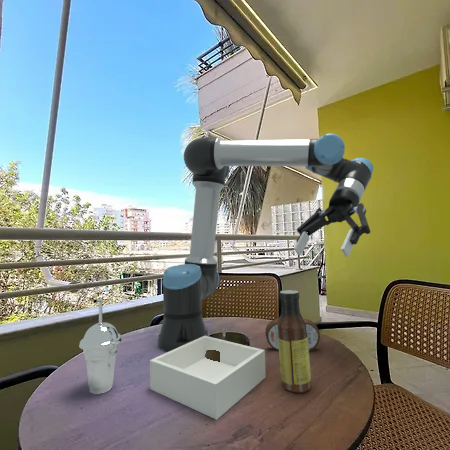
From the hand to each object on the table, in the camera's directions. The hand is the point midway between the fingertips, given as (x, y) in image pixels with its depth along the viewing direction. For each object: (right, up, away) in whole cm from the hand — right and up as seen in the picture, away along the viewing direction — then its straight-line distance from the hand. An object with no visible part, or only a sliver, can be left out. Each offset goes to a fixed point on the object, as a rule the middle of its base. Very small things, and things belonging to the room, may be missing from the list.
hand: (319, 252), depth 71 cm
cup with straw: (-51, -28, -11) cm, 59 cm away
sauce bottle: (-9, -27, -12) cm, 31 cm away
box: (-27, -28, -10) cm, 40 cm away
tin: (-5, -28, +7) cm, 30 cm away
